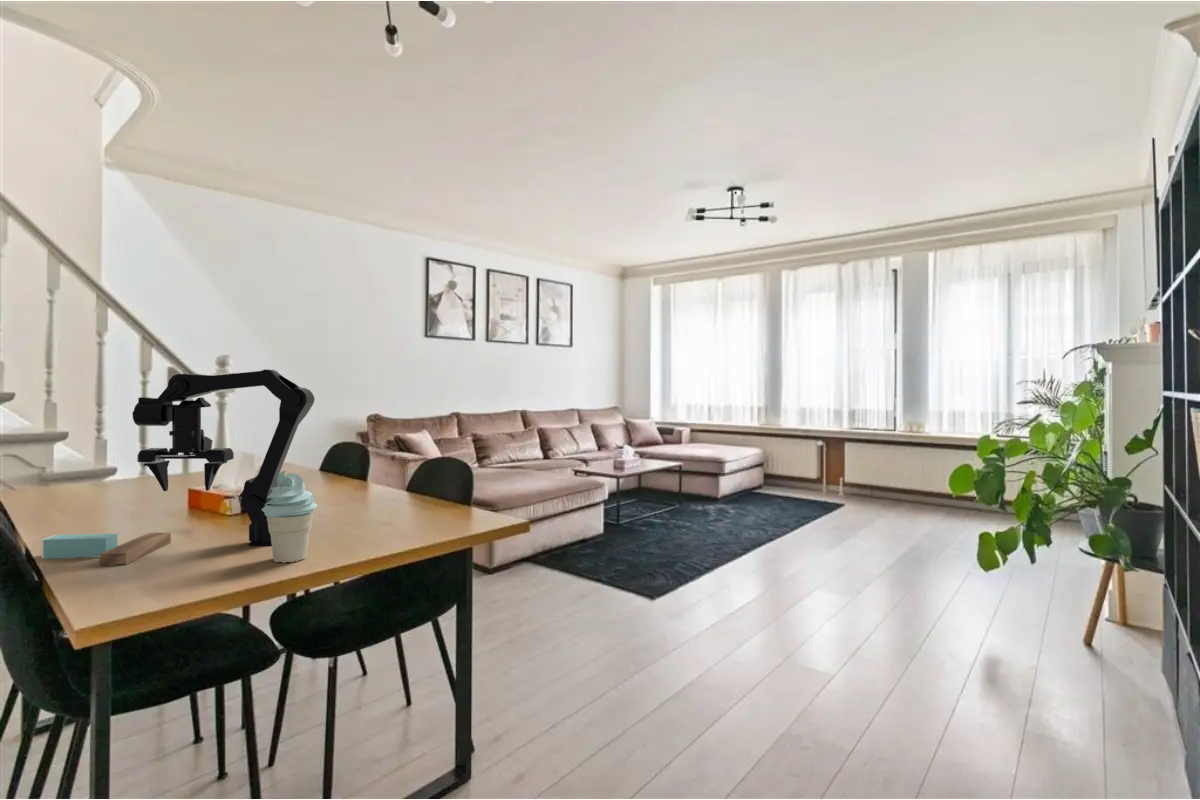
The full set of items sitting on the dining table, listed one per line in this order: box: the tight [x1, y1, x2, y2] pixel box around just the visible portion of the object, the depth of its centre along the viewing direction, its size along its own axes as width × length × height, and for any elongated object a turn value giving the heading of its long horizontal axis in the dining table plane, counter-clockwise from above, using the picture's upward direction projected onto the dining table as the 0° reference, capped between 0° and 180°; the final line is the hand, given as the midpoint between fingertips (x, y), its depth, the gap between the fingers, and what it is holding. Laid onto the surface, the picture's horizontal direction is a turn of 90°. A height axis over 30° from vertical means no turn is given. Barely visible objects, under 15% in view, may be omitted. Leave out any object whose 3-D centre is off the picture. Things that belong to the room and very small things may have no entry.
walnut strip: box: [99, 532, 172, 566], centre depth 138 cm, size 5×18×2 cm, turn 10°
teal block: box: [41, 533, 118, 559], centre depth 136 cm, size 4×4×12 cm
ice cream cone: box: [262, 470, 318, 564], centre depth 136 cm, size 10×11×20 cm
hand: (186, 490), depth 146 cm, fingers open, 9 cm apart
